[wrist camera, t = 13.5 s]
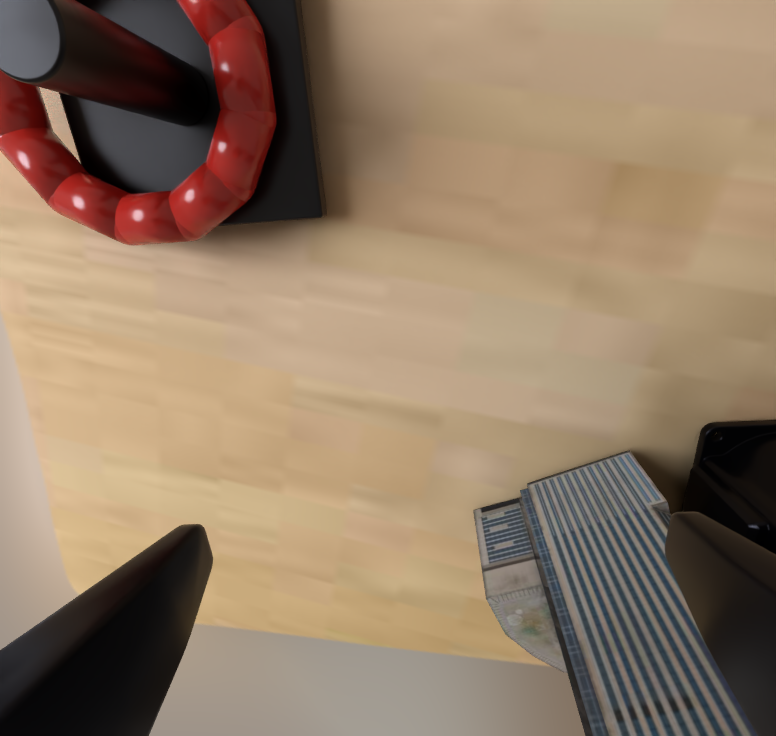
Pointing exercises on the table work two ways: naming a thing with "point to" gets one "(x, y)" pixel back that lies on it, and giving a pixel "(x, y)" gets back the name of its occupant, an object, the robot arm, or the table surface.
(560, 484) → the building
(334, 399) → the table surface
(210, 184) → the ring
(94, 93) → the peg
